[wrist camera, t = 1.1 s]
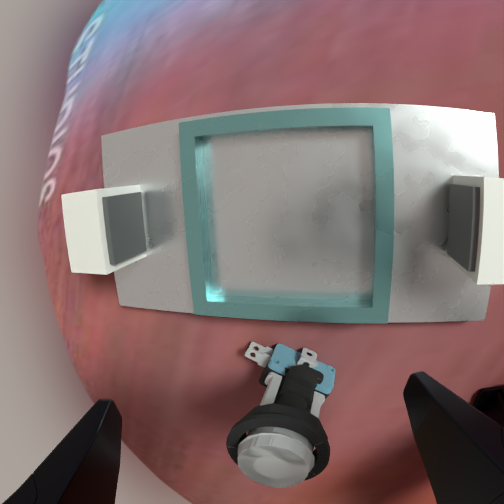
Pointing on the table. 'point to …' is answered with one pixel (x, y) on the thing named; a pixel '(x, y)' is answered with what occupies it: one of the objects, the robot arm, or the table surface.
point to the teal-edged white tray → (303, 212)
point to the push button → (284, 419)
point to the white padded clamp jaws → (134, 247)
